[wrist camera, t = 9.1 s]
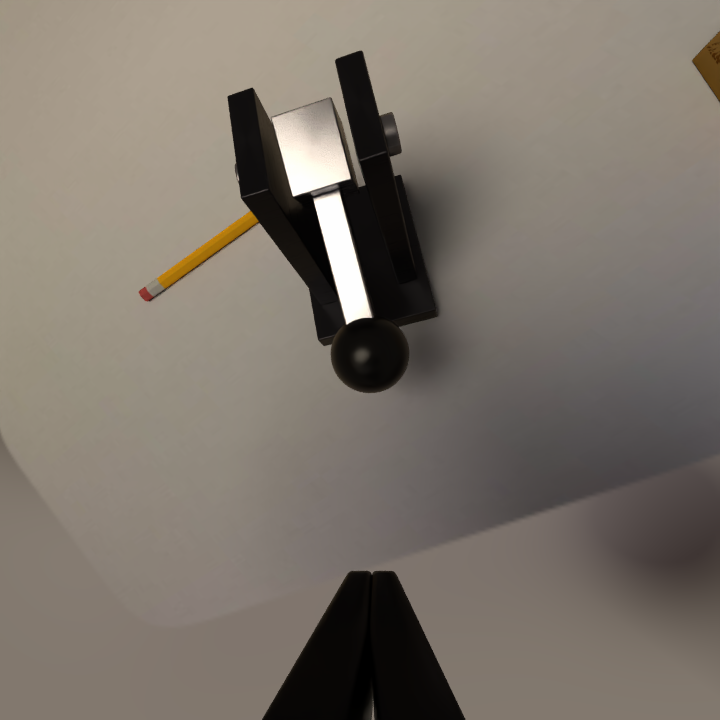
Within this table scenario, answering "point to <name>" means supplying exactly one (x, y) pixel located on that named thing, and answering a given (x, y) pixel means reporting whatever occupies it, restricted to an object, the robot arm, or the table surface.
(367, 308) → the ball knob lever
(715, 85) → the chocolate bar
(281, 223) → the bracket
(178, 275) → the pencil
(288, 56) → the table surface
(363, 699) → the robot arm
